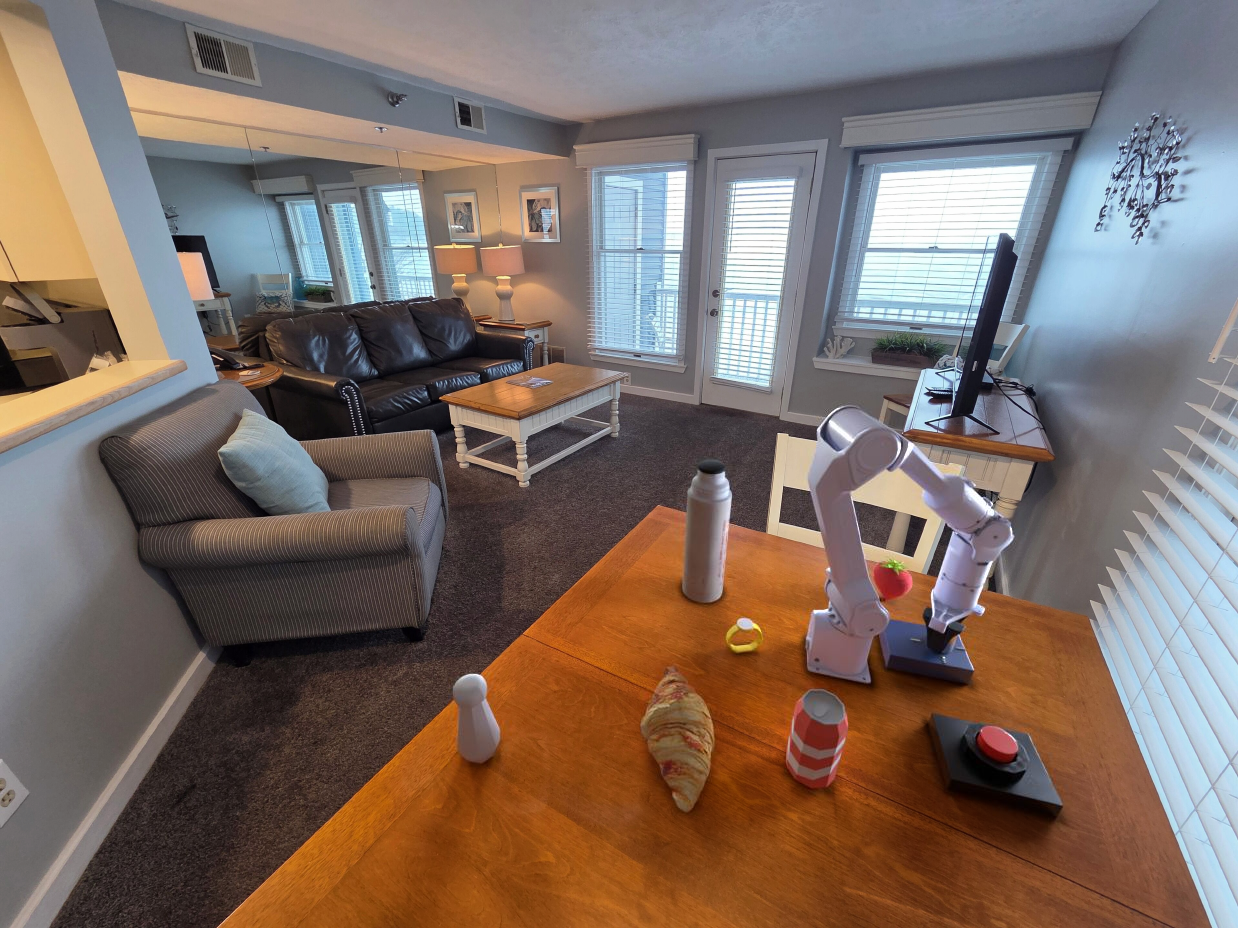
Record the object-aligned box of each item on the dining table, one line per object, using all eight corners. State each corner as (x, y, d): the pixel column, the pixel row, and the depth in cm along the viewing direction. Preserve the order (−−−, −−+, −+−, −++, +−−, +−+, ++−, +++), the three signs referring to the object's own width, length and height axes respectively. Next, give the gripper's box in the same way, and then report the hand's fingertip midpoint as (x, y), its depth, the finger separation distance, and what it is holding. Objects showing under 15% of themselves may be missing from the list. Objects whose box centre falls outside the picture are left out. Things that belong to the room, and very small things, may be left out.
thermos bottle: (728, 585, 102) (741, 461, 90) (713, 608, 96) (725, 478, 84) (692, 572, 106) (700, 451, 94) (675, 593, 100) (681, 467, 88)
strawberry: (888, 615, 94) (900, 571, 90) (859, 590, 100) (870, 548, 96) (913, 608, 95) (926, 565, 91) (884, 584, 102) (895, 543, 98)
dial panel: (886, 667, 83) (890, 653, 81) (877, 629, 90) (881, 616, 89) (969, 684, 80) (975, 669, 78) (953, 643, 87) (958, 629, 86)
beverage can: (775, 764, 68) (787, 702, 63) (803, 738, 71) (816, 677, 66) (815, 801, 63) (831, 738, 58) (842, 771, 67) (860, 708, 62)
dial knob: (947, 657, 81) (955, 637, 79) (920, 644, 83) (927, 624, 81) (955, 644, 83) (962, 624, 81) (928, 631, 86) (935, 612, 84)
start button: (982, 758, 65) (987, 749, 64) (972, 731, 68) (976, 722, 67) (1018, 766, 64) (1023, 757, 63) (1006, 738, 67) (1010, 729, 66)
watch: (756, 642, 88) (760, 616, 85) (762, 654, 86) (766, 627, 83) (723, 645, 88) (726, 618, 85) (728, 657, 85) (731, 630, 82)
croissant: (707, 834, 63) (742, 800, 60) (637, 813, 61) (670, 777, 58) (685, 691, 82) (711, 660, 79) (631, 672, 80) (655, 639, 77)
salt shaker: (464, 777, 67) (449, 709, 61) (455, 741, 71) (441, 676, 66) (507, 757, 69) (496, 690, 64) (496, 724, 74) (485, 659, 68)
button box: (947, 789, 65) (955, 769, 63) (927, 723, 73) (934, 704, 72) (1057, 816, 62) (1069, 796, 60) (1023, 744, 70) (1033, 724, 69)
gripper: (978, 610, 70) (952, 680, 76) (1004, 566, 79) (979, 632, 85) (924, 587, 75) (902, 654, 80) (954, 548, 84) (933, 611, 89)
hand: (938, 641), depth 83 cm, fingers closed on dial knob, 4 cm apart
